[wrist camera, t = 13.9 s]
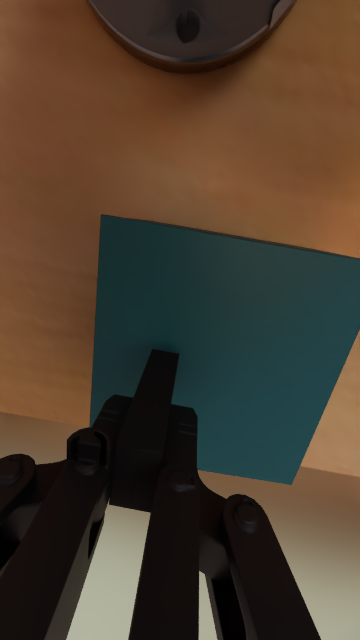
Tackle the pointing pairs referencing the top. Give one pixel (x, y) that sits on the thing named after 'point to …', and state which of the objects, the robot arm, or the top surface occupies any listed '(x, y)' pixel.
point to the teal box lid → (226, 336)
